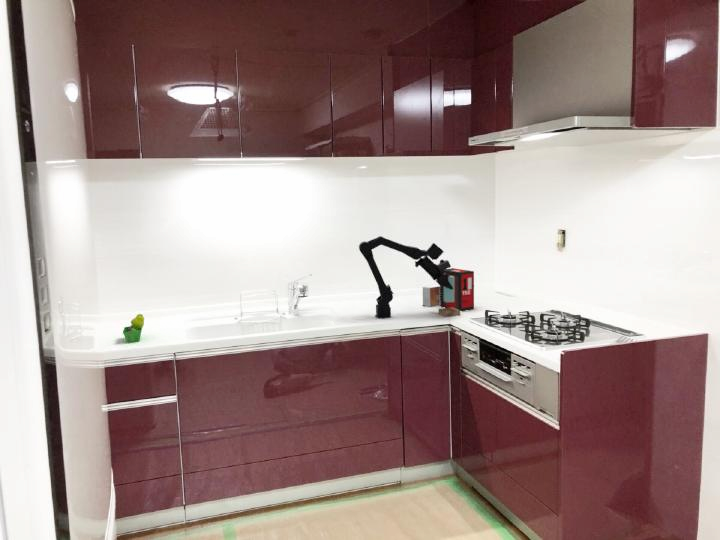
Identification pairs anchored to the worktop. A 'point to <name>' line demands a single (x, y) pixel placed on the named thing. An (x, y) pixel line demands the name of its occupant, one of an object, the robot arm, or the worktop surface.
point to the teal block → (449, 291)
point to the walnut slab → (449, 312)
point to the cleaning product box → (460, 290)
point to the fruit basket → (134, 329)
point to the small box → (431, 295)
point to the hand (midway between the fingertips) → (451, 288)
